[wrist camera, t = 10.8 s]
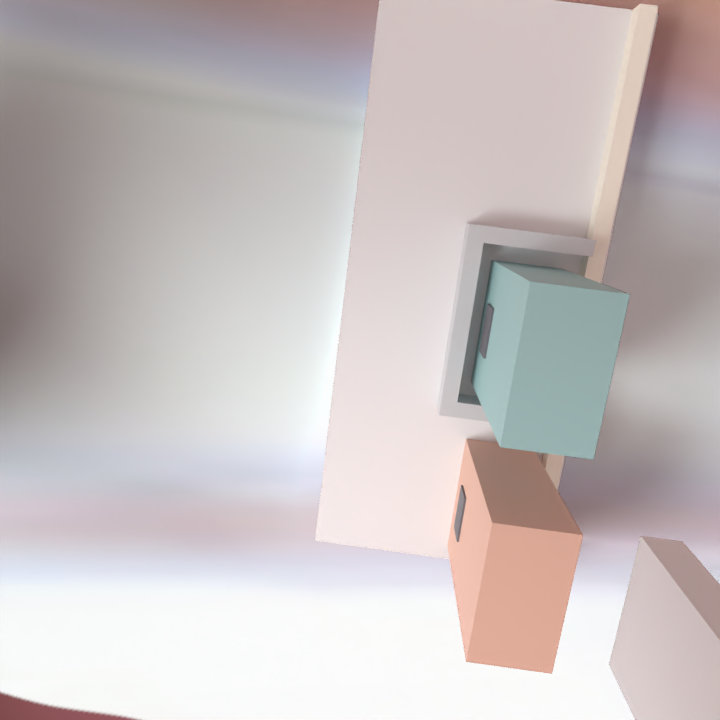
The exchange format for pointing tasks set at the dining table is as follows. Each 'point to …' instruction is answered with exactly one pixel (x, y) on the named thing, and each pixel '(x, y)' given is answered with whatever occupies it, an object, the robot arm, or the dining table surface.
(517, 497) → the terracotta carton
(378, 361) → the shelf
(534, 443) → the teal carton
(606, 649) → the dining table surface
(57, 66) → the dining table surface
